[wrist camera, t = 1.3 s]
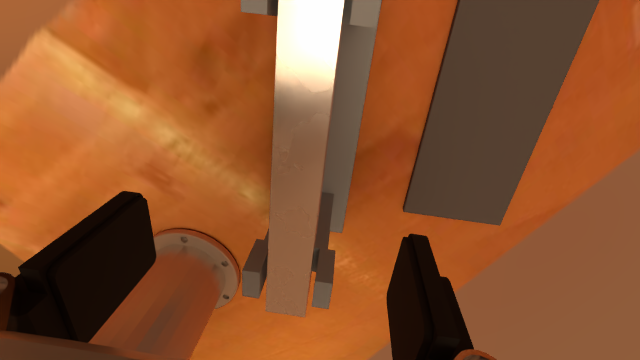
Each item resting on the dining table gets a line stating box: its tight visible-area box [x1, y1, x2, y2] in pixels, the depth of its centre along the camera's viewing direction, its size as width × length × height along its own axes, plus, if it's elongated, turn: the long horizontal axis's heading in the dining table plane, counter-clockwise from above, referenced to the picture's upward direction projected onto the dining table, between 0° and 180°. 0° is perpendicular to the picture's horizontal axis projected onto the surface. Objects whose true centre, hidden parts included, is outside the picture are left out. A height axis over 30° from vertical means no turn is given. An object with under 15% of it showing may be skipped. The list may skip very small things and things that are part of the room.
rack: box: [241, 0, 382, 309], centre depth 24 cm, size 25×8×14 cm, turn 174°
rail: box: [266, 0, 346, 317], centre depth 20 cm, size 24×3×3 cm, turn 174°
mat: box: [403, 0, 599, 225], centre depth 27 cm, size 25×10×1 cm, turn 174°
